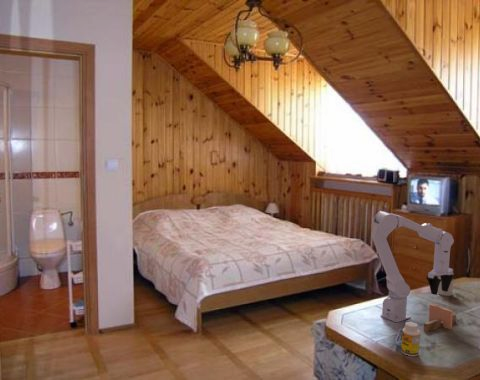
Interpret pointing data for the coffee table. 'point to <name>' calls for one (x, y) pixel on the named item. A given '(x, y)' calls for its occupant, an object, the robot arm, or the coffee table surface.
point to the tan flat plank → (441, 315)
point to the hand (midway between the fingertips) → (439, 292)
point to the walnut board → (436, 324)
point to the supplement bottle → (410, 339)
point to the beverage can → (444, 291)
